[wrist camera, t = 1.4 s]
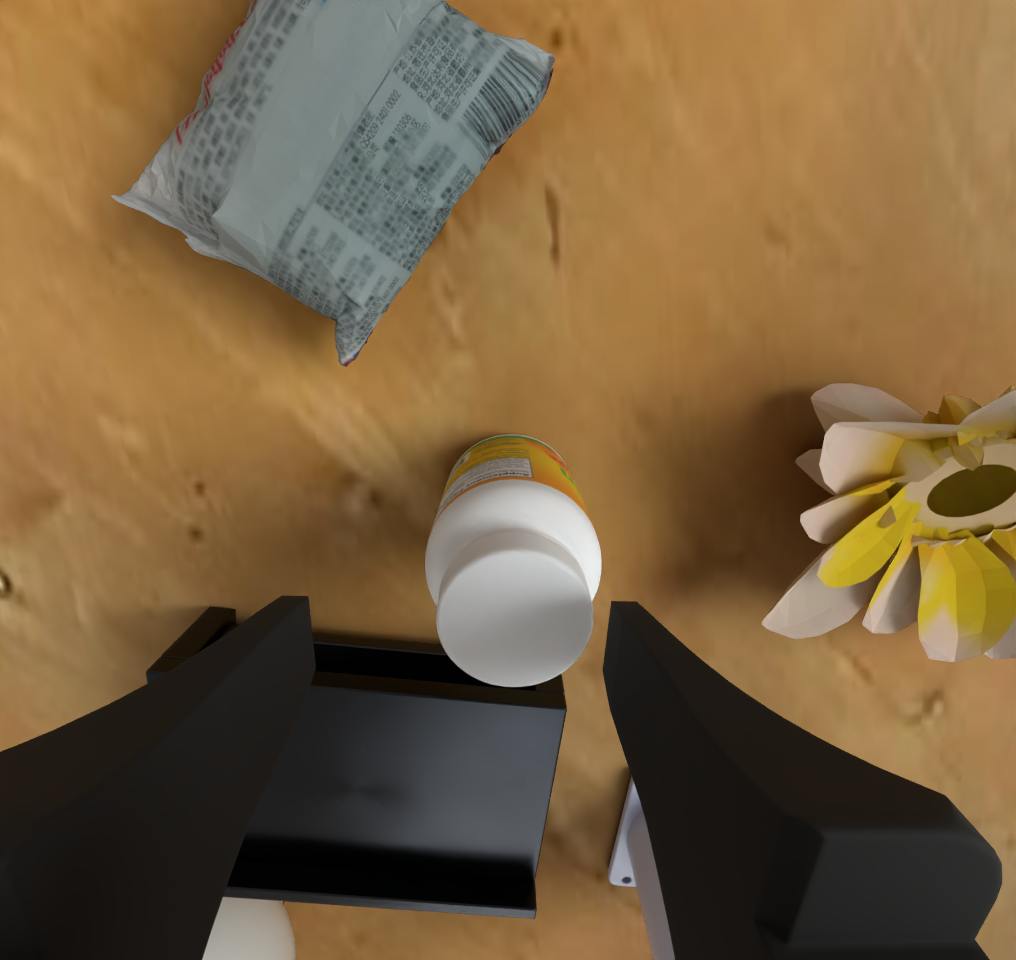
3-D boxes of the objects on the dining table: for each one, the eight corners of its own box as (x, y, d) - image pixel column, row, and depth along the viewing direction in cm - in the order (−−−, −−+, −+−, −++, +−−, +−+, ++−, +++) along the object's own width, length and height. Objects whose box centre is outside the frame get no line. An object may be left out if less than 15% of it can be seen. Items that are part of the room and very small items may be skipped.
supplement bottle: (584, 535, 23) (640, 688, 14) (466, 562, 23) (441, 729, 14) (559, 417, 21) (602, 500, 12) (431, 448, 22) (378, 551, 12)
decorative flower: (666, 590, 22) (866, 732, 12) (760, 328, 21) (1055, 249, 11) (946, 675, 24) (1297, 846, 15) (1037, 446, 24) (1468, 465, 14)
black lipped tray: (556, 639, 24) (571, 732, 19) (528, 799, 28) (535, 919, 22) (209, 606, 24) (122, 693, 18) (220, 774, 27) (149, 892, 21)
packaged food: (164, 209, 19) (53, 177, 14) (350, -124, 16) (290, -303, 11) (366, 365, 21) (328, 383, 16) (564, 92, 18) (589, 16, 13)
